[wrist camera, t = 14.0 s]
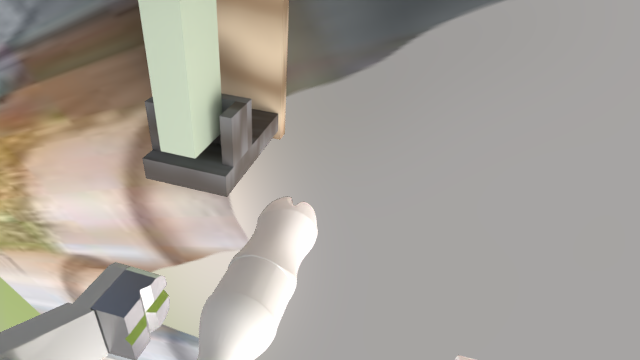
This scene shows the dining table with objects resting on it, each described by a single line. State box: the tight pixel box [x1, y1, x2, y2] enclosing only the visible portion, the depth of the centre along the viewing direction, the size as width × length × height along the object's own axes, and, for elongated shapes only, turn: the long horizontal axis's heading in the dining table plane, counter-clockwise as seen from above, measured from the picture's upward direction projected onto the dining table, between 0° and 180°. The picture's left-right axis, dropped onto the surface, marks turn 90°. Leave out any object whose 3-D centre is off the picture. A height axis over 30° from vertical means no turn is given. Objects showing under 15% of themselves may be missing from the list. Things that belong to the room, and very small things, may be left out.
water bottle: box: [197, 196, 318, 360], centre depth 44 cm, size 7×7×25 cm
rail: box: [138, 0, 222, 159], centre depth 31 cm, size 20×3×5 cm, turn 176°
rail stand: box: [143, 0, 289, 197], centre depth 35 cm, size 29×8×14 cm, turn 176°
